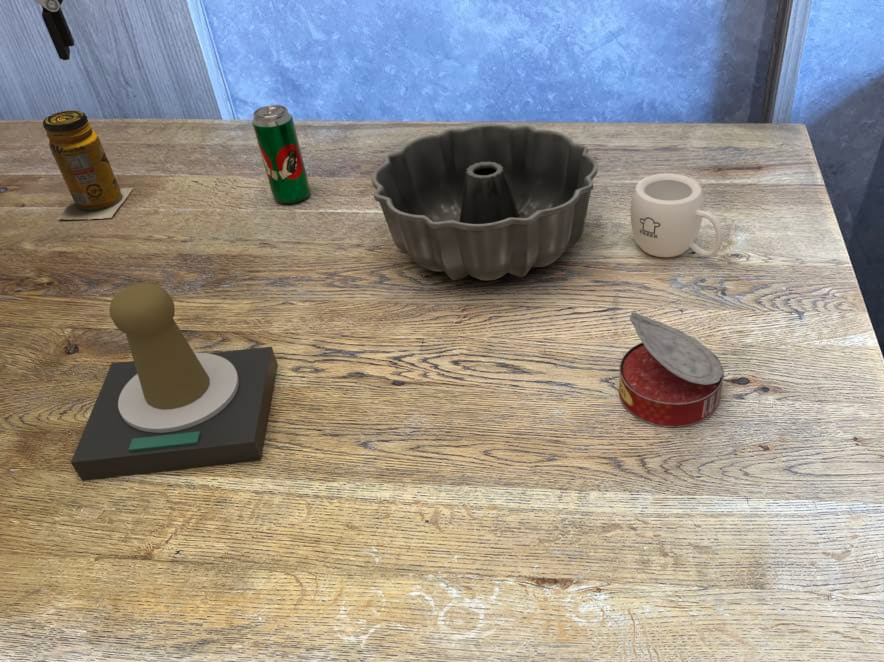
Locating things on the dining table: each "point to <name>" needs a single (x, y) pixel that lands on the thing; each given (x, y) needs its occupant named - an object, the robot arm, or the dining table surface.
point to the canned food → (669, 376)
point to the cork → (158, 347)
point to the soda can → (281, 154)
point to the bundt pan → (486, 198)
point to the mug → (670, 215)
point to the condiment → (83, 167)
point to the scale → (179, 420)
